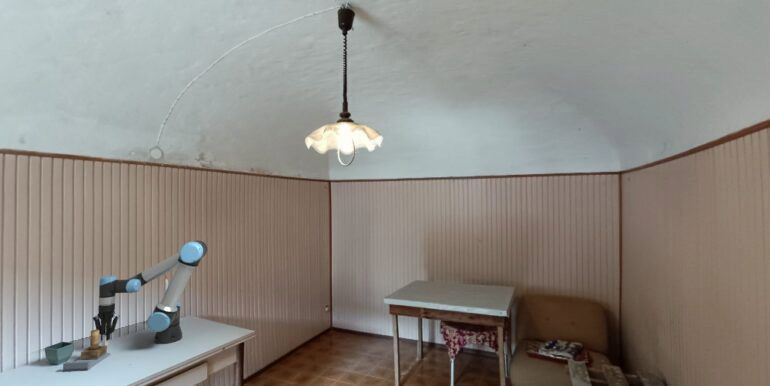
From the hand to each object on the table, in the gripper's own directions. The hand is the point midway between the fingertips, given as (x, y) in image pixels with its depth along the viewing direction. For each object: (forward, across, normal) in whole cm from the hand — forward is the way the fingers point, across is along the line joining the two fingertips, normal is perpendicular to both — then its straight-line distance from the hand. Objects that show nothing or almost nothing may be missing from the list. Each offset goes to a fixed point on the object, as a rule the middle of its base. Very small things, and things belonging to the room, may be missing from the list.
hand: (105, 345), depth 204 cm
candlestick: (+3, -13, -45) cm, 47 cm away
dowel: (+1, 0, +10) cm, 10 cm away
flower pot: (+4, +15, +12) cm, 20 cm away
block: (+2, 0, +10) cm, 10 cm away
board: (+3, 0, +15) cm, 15 cm away
